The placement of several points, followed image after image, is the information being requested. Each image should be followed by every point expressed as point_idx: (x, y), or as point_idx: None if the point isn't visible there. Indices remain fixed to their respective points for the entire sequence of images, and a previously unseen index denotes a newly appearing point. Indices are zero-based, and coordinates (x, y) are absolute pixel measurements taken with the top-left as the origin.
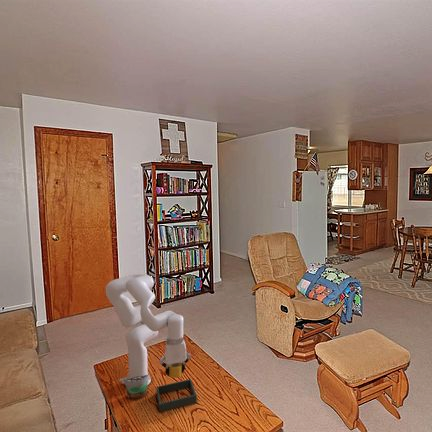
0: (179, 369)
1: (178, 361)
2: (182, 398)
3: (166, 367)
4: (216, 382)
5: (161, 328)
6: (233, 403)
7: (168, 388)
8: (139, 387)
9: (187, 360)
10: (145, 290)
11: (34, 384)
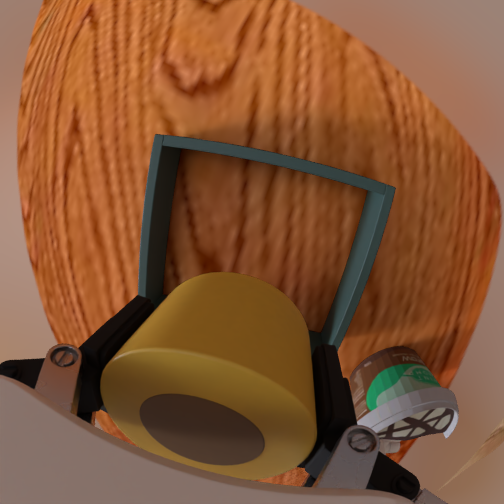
0: (163, 321)
1: (97, 461)
2: (244, 149)
3: (361, 442)
4: (61, 247)
5: None
6: (65, 68)
7: None
8: (417, 381)
9: (9, 369)
10: None
11: (471, 460)
